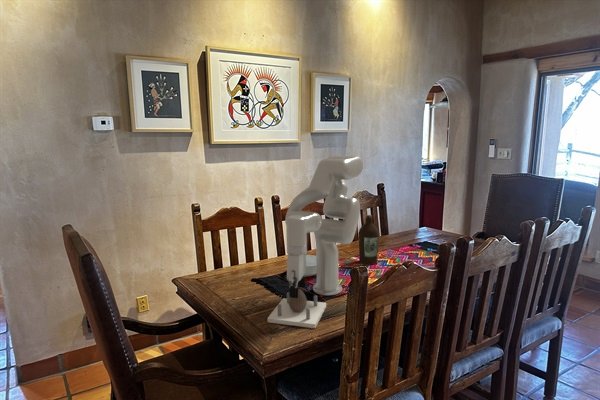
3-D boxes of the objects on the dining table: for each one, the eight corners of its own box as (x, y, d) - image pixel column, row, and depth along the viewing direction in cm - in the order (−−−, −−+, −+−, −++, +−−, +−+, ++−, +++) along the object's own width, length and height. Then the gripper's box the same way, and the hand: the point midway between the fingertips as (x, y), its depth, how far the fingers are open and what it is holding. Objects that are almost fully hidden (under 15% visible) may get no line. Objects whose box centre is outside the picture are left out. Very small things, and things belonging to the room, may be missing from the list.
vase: (306, 305, 154) (305, 284, 152) (307, 313, 147) (306, 291, 145) (288, 306, 153) (287, 285, 152) (289, 314, 147) (288, 292, 145)
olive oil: (355, 259, 212) (356, 213, 207) (374, 258, 213) (375, 212, 209) (361, 265, 201) (362, 218, 197) (381, 264, 203) (382, 217, 198)
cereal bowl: (321, 281, 182) (321, 266, 181) (286, 279, 186) (285, 264, 184) (326, 268, 199) (326, 255, 197) (293, 266, 202) (293, 253, 201)
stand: (283, 301, 161) (282, 288, 160) (326, 306, 156) (326, 293, 155) (267, 322, 144) (267, 308, 143) (315, 328, 139) (315, 313, 138)
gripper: (294, 241, 155) (294, 282, 158) (279, 255, 138) (280, 300, 142) (312, 242, 153) (313, 284, 156) (300, 256, 136) (300, 303, 139)
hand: (297, 292), depth 149 cm, fingers open, 9 cm apart
